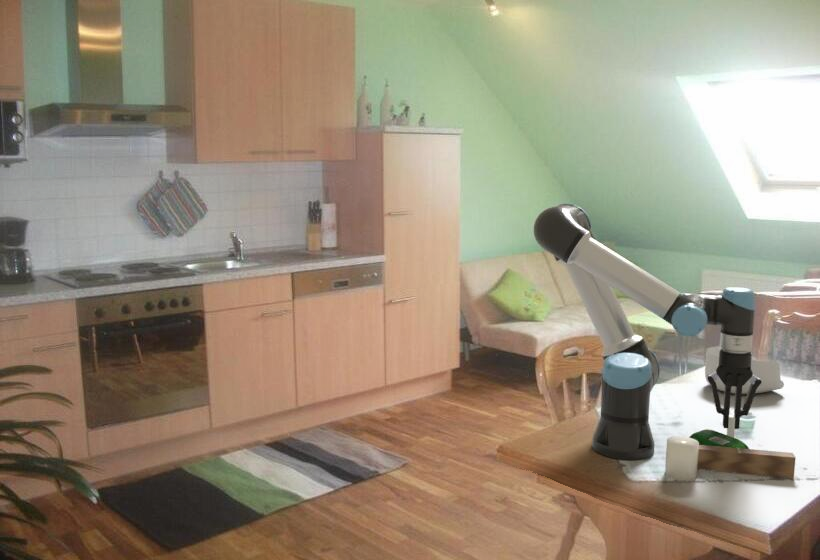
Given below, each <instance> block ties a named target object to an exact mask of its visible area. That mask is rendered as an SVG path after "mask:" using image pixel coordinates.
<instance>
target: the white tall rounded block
mask: <svg viewBox="0 0 820 560" xmlns="http://www.w3.org/2000/svg"><path fill="white" fill-rule="evenodd" d="M689 437H690V436H683V435H675V436H674V435H672V436H669V437H668V438H666V452H665V465H664V466H665V467H664V468H665V469H664V470H665V471H664V474H665V473H666V474H667V475H668V476H667V475H666V474H665V475H666V476H667V477H669V478H671V477H672V478H671V479H674V480H678V481H679V480H680V481H693V480H695V479H697V477H698V469H697V465H698V449H699V442H698V441H697V440H695V439H693V438H689ZM692 479H693V480H692Z"/></svg>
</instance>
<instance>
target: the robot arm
mask: <svg viewBox="0 0 820 560" xmlns="http://www.w3.org/2000/svg"><path fill="white" fill-rule="evenodd" d="M533 236H534V238H535V241H536V243H537V244H538V245H539V246H540V247H541V249H543V250H544V251H546V252H547V253H549V254H551V255H553V257H554V259H555V261H556V263H558V264H561V265H564V266H565V269H566V270H567V273H568V275H569V277H570V279H571V281H572V283H573V285H574V287H575V289H576V291H577V294H578V296H579V298H580V300H581V302H582V304H583V306H584V308H585V311H586V312H587V314H588V317H589V319H590V320H591V323H592V325H593V326H594V327H593V328H595V331H596V333H597V335H598V337H599V339H600V341H601V343H602V346H603V350H602V353H601V357H602V358H603V362H602V363H603V364H602V368H601V392H600V393H601V395H600V397H601V399H600V400H601V401H600V418H599V420H598V422H597V424H596V427H595V430H594V432H593V436H592V440H591V441H592V443H591V447H592V449H593V451H594V452H596V453H597V454H600V455H602V456H605V457H607V458H612V459H617V460H627V461H628V460H629V461H632V460H633V461H634V460H635V461H636V460H643V459H647V458H649V457H652V456H653V455H654V454H655V440H654V437H653V433H652V430H651V426H650V422H649V415H650V402H651V401H650V399H651V398H650V397H651V391H652V390H653V388H654V387H655V385H656V384H657V382H658V380H659V377H660V374H661V373H660V371H661V369H660V362H659V359H658V357H657V355H656V354H655V353H654V352H653V350H651V349H649V347H648V345H647V343H646V341H645V338H643V336H641V335H639V334H637V333H636V332H634V330H633V328H632V325H631V324H630V321H629V320H628V317H627V315H626V313H625V311H624V309H623V308H622V305H621V303H620V301H619V298H618V297H617V295H616V293H615V291H614V289H615V290H616V291H618V292H619V293H621V294H622V295H625V296H626V297H628V298H629V299H631V300H632V301H634V302H636V303H637V304H638V305H640V306H642V307H643V308H645V309H646V310H648V311H650V313H653V314H655V315H656V316H657V317H659V318H660V319H662V320H664V321H665V322H666V323H668V324H670V325H672V328H673V329H674V330H675V332H676V333H678V335H680V336H683V337H685V338H686V337H687V338H691V337H696V336H698V335H699V334H701V332H702V331H704V330H705V328H706V327H707V325H709V326H711V325H712V326H720V336H719V346H720V347H721V348H722V349H721V350H720V351H719V365H718V368H717V369H716V372H714V373H712V374H708V375H707V379H708V381H709V382H710V384H711V385H710V386H711V391H712V395H713V396H712V397H713V400H714V405H715V410H716V413H717V414H721V415H722V427H723V429H726V435H728V436H730V437H733V438H735V430H739V429H740V422H741V420H740V419H741V417H743V416H748V415H749V412H750V409H751V407H752V404H753V400H754V397H755V395H756V393H755V392H756V389H757V388H758V387H759V385H760V384H761V383H762V382H761V379H760V378H759V377H756V376H754V375H753V372H752V370H751V358H752V357H753V355H752V354H753V353H752V352H751V350H753V336H754V335H753V334H754V325H755V311H756V306H755V305H756V297H755V296H756V294H755V292H754V291H753V289H750V288H747V287H734V286H733V287H732V286H729V287H725V288H723V291H722V293H721V294H718V295H713V294H703V293H691V292H680V291H678V290H677V289H675V288H673V287H671V286H670V285H669V284H667V283H665V282H663V281H662V280H660V279H658V277H656V276H654V275H652V274H651V273H649V272H648V271H646V270H644V269H642V267H639V266H638V265H636V264H635V263H633V262H631V261H630V260H628V259H626V258H625V257H624V256H621V255H620V254H618V253H617V252H616V251H614V250H612V249H611V248H608V246H605V245H604V244H603V243H601V242H599V241H597V240H596V237H595V235H594V233H593V231H592V223H591V219H590V217H589V215H588V213H587V212H586V211H585V210H584V209H583V208H581V207H580V206H578V205H575V204H571V203H563V204H562V203H561V204H559V205H556V206H551V207H548V208H547V209H544V210H543V211H542V212H540V213H539V214H538V215H537V217H536V218H535V221H534V225H533ZM718 376H719V378H720V379H721V381H722V382H723V383H724V385H725V392H724V391H723V395H724V397H723V407H722V405H721V400H720V396H719V395H720V394H719V390H718V389H717V385H716V382H717V377H718ZM750 378H751V380H750V383H751V385H750V388H749V391H748V393H747V394H746V396H745V400H744V403H743V405H742V397H743V396H742V395H743V394H742V386H744V385H745V383H746V382H747V381H748V380H749V379H750ZM732 386H735V387H736V390H735V394H734V409H733V412H734V413H730V410H731V409H730V408H731V407H730V406H731V394H732V393H731V387H732Z"/></svg>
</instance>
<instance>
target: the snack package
mask: <svg viewBox="0 0 820 560" xmlns="http://www.w3.org/2000/svg"><path fill="white" fill-rule="evenodd" d="M688 437H689V438H693V439H695V440H697V441H698V442H699V445H708V446H719V447H731V448H736V447H738V448H742V449H750V448H749V447H748V445H747V444H746V443H745V442H743V440H740V439H738V438H736V437H734V438H733V437H730V436H728V435H727V434H725V433H722V432H719V431H716V430H713V429H708V428H707V429H703V430H702V429H701V430H699V431H697V432H694V433H693V434H691V435H690V436H688Z"/></svg>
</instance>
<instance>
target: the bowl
mask: <svg viewBox="0 0 820 560" xmlns="http://www.w3.org/2000/svg"><path fill="white" fill-rule="evenodd" d="M721 349H722V348H721V347H720V345H717V346H710V347H708V348H706V350H705V365H704V375H705V376H704V378H705V381H706V382H707V383H708V385H709V386H711V384H710V382H709V381H708V379H707V375H708V374H712V373H714V372H716V369H717V368H718V365H719V351H720V350H721ZM751 370H752V372H753V375H754V376H756V377H759V378H760V379H761V382H762V383H761V384H760V385H759V387H758V388H757V389H756V392H755V394H761V393H767V392H771V391H773V392H774V391H777V390H781V389H783V388H784V386H785V384H784V381H783V380H781V371H780V370H781V369H780V362H777V361H769V360H759V359H758V358H757V357H754V356H752V358H751ZM750 380H751V378H750V379H749V380H748V381H747V382H746V383H745V385H744V386H742V395H747V393H748V391H749V388H750V385H751V383H750ZM716 385H717V390H718V391H721V392H723V393H724V392H725V385H724V383H723V382H722V381H721V379H720V378H719V376H718V377H717V382H716ZM735 390H736V387H735V386H732V387H731V394H734V395H735Z"/></svg>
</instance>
